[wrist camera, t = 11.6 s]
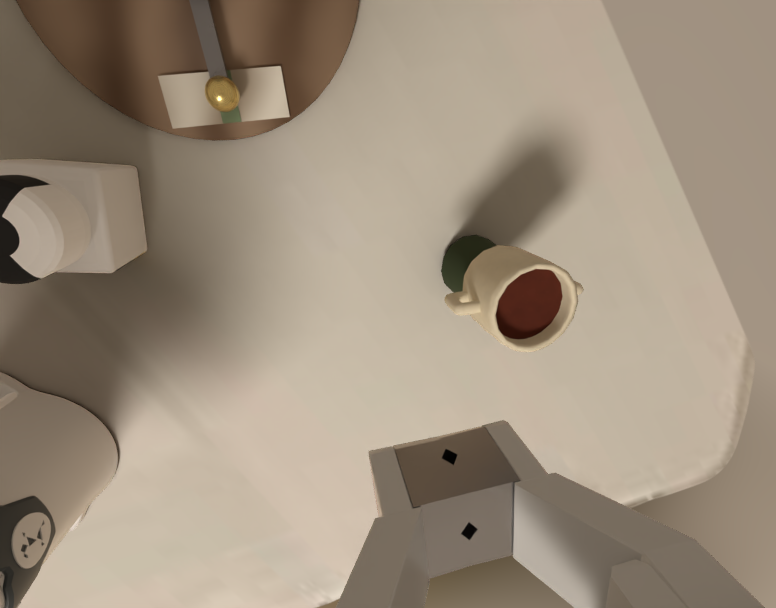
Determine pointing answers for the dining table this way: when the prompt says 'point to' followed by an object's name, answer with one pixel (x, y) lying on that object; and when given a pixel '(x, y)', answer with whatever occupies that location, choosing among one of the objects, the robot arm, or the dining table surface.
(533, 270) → the character mug
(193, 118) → the stand
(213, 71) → the crank lever
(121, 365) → the dining table surface
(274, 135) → the dining table surface
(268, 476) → the dining table surface
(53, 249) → the medicine bottle
